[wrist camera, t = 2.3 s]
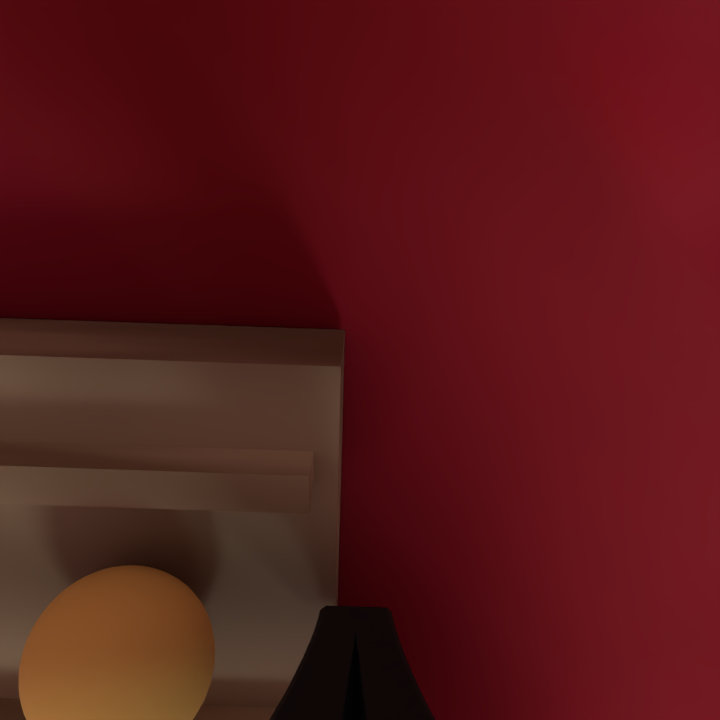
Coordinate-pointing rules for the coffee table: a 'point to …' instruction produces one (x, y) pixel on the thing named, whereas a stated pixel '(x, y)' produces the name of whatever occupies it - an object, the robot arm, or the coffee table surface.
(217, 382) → the board
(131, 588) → the ball
